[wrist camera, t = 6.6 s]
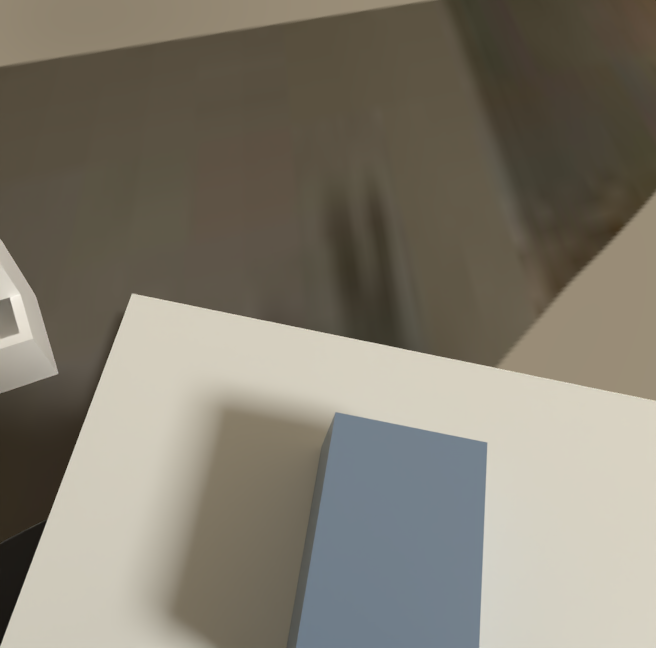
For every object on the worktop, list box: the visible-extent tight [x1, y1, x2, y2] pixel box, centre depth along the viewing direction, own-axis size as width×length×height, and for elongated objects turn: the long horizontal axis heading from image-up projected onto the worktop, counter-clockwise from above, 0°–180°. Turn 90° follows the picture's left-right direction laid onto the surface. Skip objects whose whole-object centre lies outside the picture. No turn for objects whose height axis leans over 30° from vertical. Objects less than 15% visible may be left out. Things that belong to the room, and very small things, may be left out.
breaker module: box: [0, 294, 656, 648], centre depth 9 cm, size 5×4×12 cm
